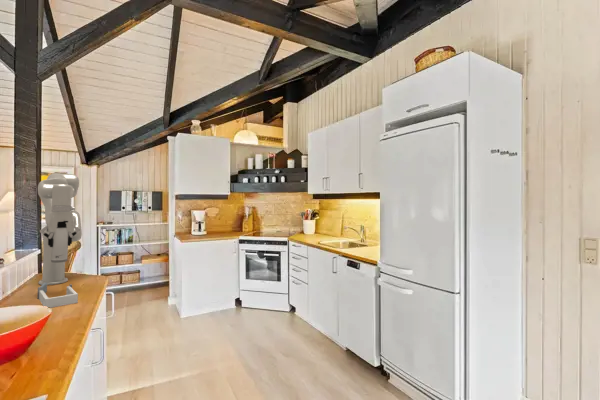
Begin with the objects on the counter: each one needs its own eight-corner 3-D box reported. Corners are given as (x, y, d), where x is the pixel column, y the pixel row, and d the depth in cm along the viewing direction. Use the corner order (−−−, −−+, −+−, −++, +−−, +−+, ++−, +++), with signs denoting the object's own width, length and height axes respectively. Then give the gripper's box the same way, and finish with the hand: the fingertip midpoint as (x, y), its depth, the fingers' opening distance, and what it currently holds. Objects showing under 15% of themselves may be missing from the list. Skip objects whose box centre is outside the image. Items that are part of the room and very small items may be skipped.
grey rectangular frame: (38, 298, 141) (38, 288, 141) (71, 292, 150) (71, 284, 150) (45, 308, 128) (45, 298, 128) (80, 302, 138) (80, 292, 138)
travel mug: (58, 263, 143) (60, 221, 144) (47, 262, 144) (49, 220, 145) (71, 260, 149) (72, 220, 150) (60, 260, 151) (62, 220, 151)
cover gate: (36, 299, 140) (37, 288, 140) (43, 292, 149) (44, 281, 149) (40, 298, 140) (41, 287, 140) (47, 292, 150) (47, 281, 150)
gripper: (80, 209, 156) (79, 244, 156) (36, 209, 143) (35, 246, 143) (84, 209, 151) (83, 245, 151) (39, 209, 138) (37, 248, 138)
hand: (60, 245), depth 147 cm, fingers closed on travel mug, 6 cm apart
